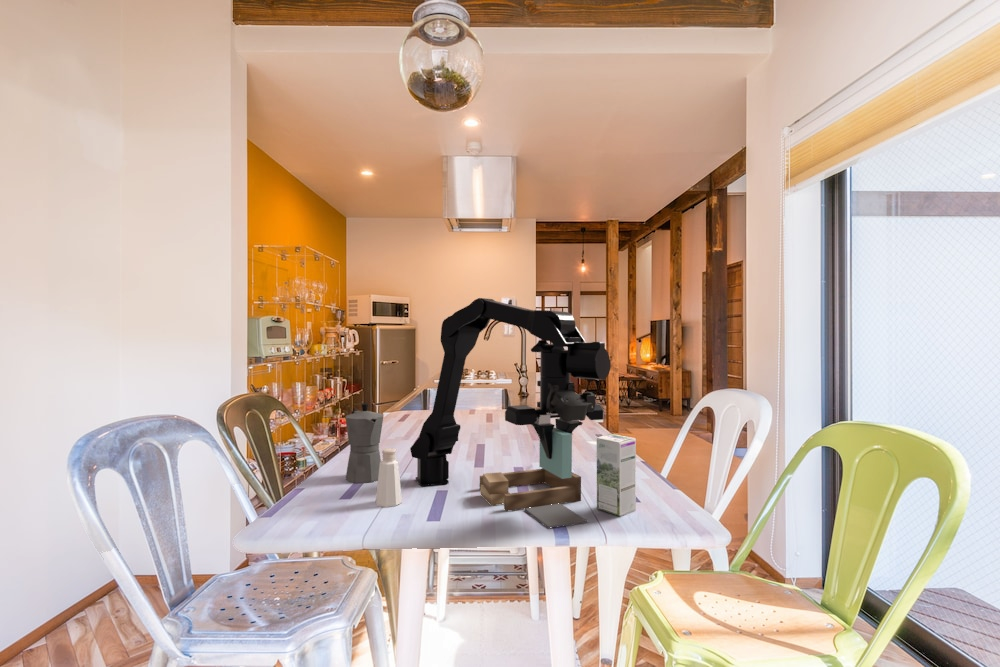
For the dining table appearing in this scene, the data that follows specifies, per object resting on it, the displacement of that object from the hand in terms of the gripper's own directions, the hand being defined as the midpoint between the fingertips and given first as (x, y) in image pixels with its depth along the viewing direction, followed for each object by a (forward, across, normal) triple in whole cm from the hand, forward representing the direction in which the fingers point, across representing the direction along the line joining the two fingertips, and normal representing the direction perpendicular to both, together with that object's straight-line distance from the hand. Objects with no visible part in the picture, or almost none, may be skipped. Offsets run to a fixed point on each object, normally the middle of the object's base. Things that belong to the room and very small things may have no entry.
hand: (554, 457), depth 95 cm
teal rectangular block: (+3, 0, 0) cm, 3 cm away
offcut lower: (+12, -7, +14) cm, 19 cm away
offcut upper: (+9, -7, +13) cm, 18 cm away
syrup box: (+11, +13, -2) cm, 17 cm away
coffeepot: (+12, -30, +41) cm, 52 cm away
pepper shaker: (+12, -28, +19) cm, 36 cm away
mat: (+11, 0, 0) cm, 11 cm away
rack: (+11, +1, +13) cm, 17 cm away
